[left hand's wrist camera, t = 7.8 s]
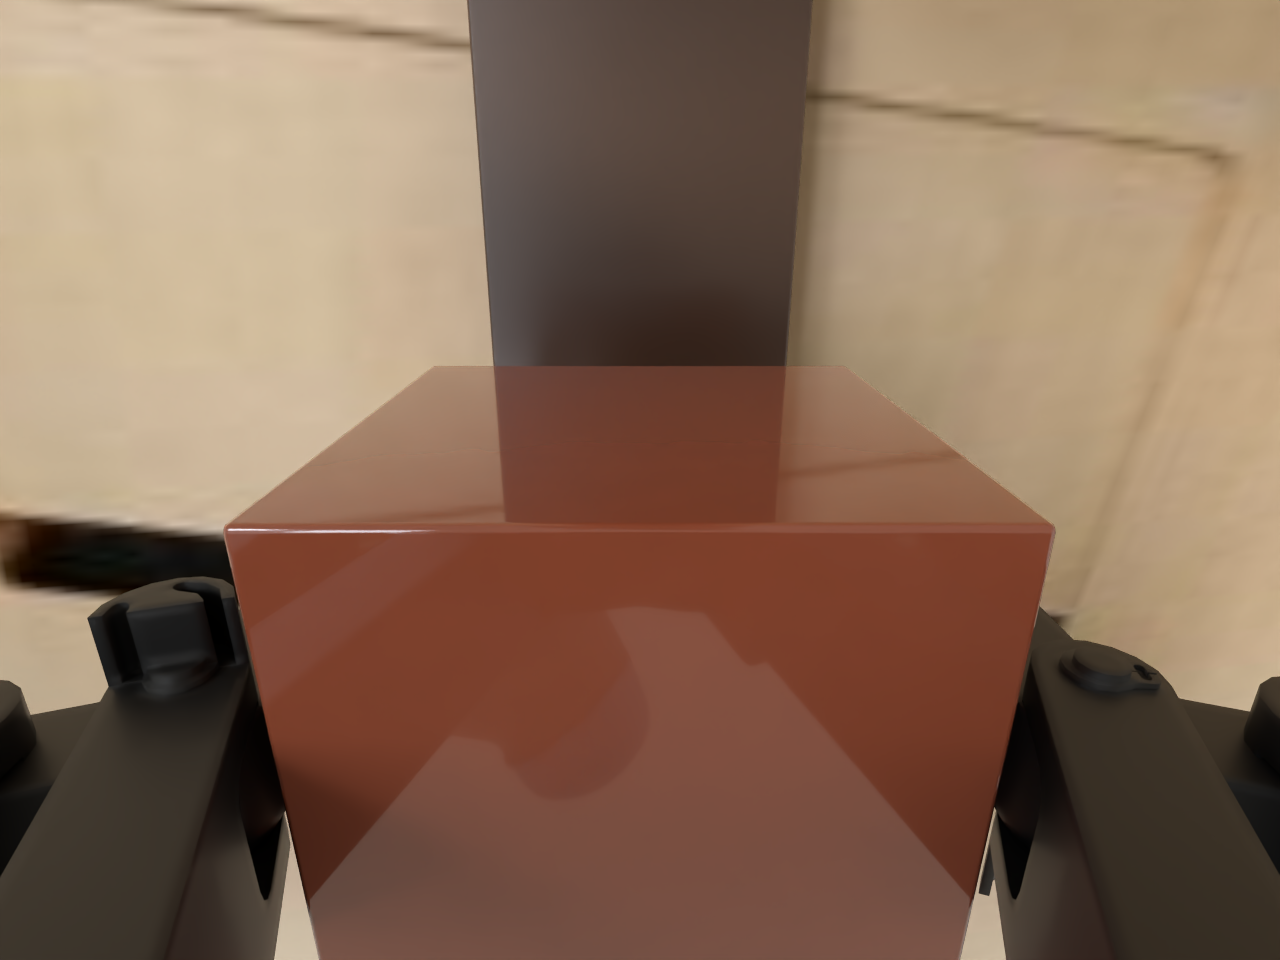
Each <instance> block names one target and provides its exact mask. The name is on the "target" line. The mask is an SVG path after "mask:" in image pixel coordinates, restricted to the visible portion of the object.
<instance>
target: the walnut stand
mask: <svg viewBox="0 0 1280 960" xmlns="http://www.w3.org/2000/svg"><path fill="white" fill-rule="evenodd" d="M812 3H813V0H467V6H468V19H469V33H470V47H471V61H472V74H473V88H474V102H475V116H476V130H477V143H478V157H479V171H480V185H481V199H482V212H483V226H484V240H485V254H486V267H487V281H488V295H489V309H490V323H491V336H492V350H493V364H494V366H786V363H787V349H788V335H789V322H790V308H791V294H792V280H793V266H794V252H795V239H796V225H797V211H798V197H799V183H800V169H801V155H802V142H803V128H804V114H805V100H806V86H807V72H808V59H809V45H810V31H811V17H812Z"/></svg>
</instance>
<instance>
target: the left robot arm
mask: <svg viewBox="0 0 1280 960" xmlns="http://www.w3.org/2000/svg"><path fill="white" fill-rule="evenodd" d="M88 622H89V625H90V628H91V631H92V634H93V638H94V641H95V644H96V647H97V650H98V654H99V657H100V660H101V663H102V666H103V670H104V673H105V676H106V679H107V682H108V686H109V687H108V689H107V691H106V692H105V694H104V696H103V698H102V699H101V701H100V702H98V703H93V704H88V705H82V706H77V707H72V708H66V709H61V710H56V711H50V712H45V713H39V714H34V715H30V713H29V710H28V707H27V704H26V702H25V699H24V696H23V693H22V691H21V688H20V687H18V686H16V685H15V684H13V683H12V682H10V681H5V680H0V960H274V956H275V949H276V942H277V935H278V928H279V921H280V914H281V907H282V900H283V893H284V885H285V878H286V871H287V864H288V857H289V850H290V839H289V832H288V827H287V823H286V818H285V814H284V812H285V806H284V801H283V797H282V792H281V788H280V783H279V779H278V775H277V770H276V766H275V761H274V757H273V752H272V748H271V743H270V739H269V735H268V730H267V726H266V721H265V717H264V712H263V708H262V703H261V699H260V694H259V690H258V686H257V681H256V677H255V672H254V668H253V663H252V659H251V654H250V650H249V646H248V641H247V637H246V632H245V628H244V623H243V619H242V614H241V610H238V605H237V601H236V596H235V592H234V587H233V586H232V585H230V584H229V583H227V582H225V581H224V580H222V579H216V578H209V577H189V578H177V579H172V580H167V581H162V582H157V583H152V584H149V585H146V586H143V587H140V588H137V589H135V590H132V591H129V592H126V593H124V594H122V595H120V596H118V597H116V598H114V599H112V600H110V601H108V602H107V603H105V604H103V605H101V606H100V607H99V608H98V609H97V610H96V611H95V612H94V613H92V614H91V615H90V616H89V617H88ZM994 807H995V809H996V814H995V818H994V823H993V827H992V831H991V836H990V840H989V845H988V849H987V854H986V858H985V863H984V867H983V871H982V876H981V881H980V888H979V893H980V894H983V895H987V896H989V894H990V890H991V886H992V882H993V880H994V879H995V884H996V891H997V898H998V905H999V912H1000V919H1001V926H1002V933H1003V940H1004V947H1005V954H1006V960H1280V677H1271V678H1270V679H1268V680H1266V681H1265V682H1263V683H1262V684H1260V686H1259V689H1258V691H1257V694H1256V697H1255V700H1254V702H1253V705H1252V708H1251V711H1250V712H1248V711H1243V710H1238V709H1232V708H1227V707H1221V706H1216V705H1211V704H1205V703H1200V702H1194V701H1189V700H1184V699H1180V698H1178V696H1177V695H1176V693H1175V691H1174V689H1173V688H1172V686H1171V685H1170V684H1169V683H1168V681H1167V680H1166V679H1165V678H1164V677H1163V676H1162V675H1161V674H1160V673H1159V671H1157V670H1156V669H1154V668H1153V667H1151V666H1149V665H1148V664H1146V663H1145V662H1143V661H1142V660H1140V659H1138V658H1137V657H1134V656H1132V655H1129V654H1127V653H1125V652H1122V651H1120V650H1117V649H1115V648H1112V647H1109V646H1105V645H1101V644H1097V643H1092V642H1088V641H1081V640H1073V639H1072V638H1071V637H1070V636H1069V635H1068V634H1067V633H1066V632H1065V631H1064V630H1063V629H1062V628H1061V627H1060V626H1059V625H1058V624H1057V623H1056V622H1055V621H1054V620H1053V619H1052V618H1051V617H1050V616H1049V615H1048V614H1047V613H1046V612H1045V611H1044V610H1043V609H1042V608H1041V607H1040V606H1039V609H1038V614H1037V618H1036V623H1035V627H1034V631H1033V636H1032V640H1031V645H1030V649H1029V654H1028V658H1027V663H1026V667H1025V672H1024V676H1023V681H1022V685H1021V690H1020V694H1019V698H1018V703H1017V707H1016V712H1015V716H1014V721H1013V725H1012V730H1011V734H1010V739H1009V743H1008V748H1007V752H1006V757H1005V761H1004V765H1003V770H1002V774H1001V779H1000V783H999V788H998V792H997V797H996V801H995V806H994Z"/></svg>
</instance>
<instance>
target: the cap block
mask: <svg viewBox="0 0 1280 960" xmlns="http://www.w3.org/2000/svg"><path fill="white" fill-rule="evenodd" d="M1055 533H1056V532H1055V527H1054V524H1053V523H1051V522H1050V521H1049V520H1047V519H1046V518H1045V517H1043V516H1042V515H1041V514H1039V513H1038V512H1037V511H1035V510H1034V509H1033V508H1031V507H1030V506H1029V505H1028V504H1026V503H1025V502H1024V501H1022V500H1021V499H1020V498H1018V497H1017V496H1016V495H1014V494H1013V493H1012V492H1010V491H1009V490H1008V489H1006V488H1005V487H1004V486H1002V485H1001V484H1000V483H999V482H997V481H996V480H995V479H993V478H992V477H991V476H989V475H988V474H987V473H985V472H984V471H983V470H981V469H980V468H979V467H977V466H976V465H975V464H973V463H972V462H971V461H970V460H968V459H967V458H966V457H964V456H963V455H962V454H960V453H959V452H958V451H956V450H955V449H954V448H952V447H951V446H950V445H948V444H947V443H946V442H945V441H943V440H942V439H941V438H939V437H938V436H937V435H935V434H934V433H933V432H931V431H930V430H929V429H927V428H926V427H925V426H923V425H922V424H921V423H919V422H918V421H917V420H916V419H914V418H913V417H912V416H910V415H909V414H908V413H906V412H905V411H904V410H902V409H901V408H900V407H898V406H897V405H896V404H894V403H893V402H892V401H890V400H889V399H888V398H887V397H885V396H884V395H883V394H881V393H880V392H879V391H877V390H876V389H875V388H873V387H872V386H871V385H869V384H868V383H867V382H865V381H864V380H863V379H862V378H860V377H859V376H858V375H856V374H855V373H854V372H852V371H851V370H850V369H848V368H847V367H845V366H434V367H432V368H430V369H429V370H428V371H427V372H425V373H424V374H423V375H421V376H420V377H419V378H417V379H416V380H415V381H413V382H412V383H411V384H409V385H408V386H407V387H406V388H404V389H403V390H402V391H400V392H399V393H398V394H396V395H395V396H394V397H392V398H391V399H390V400H388V401H387V402H386V403H385V404H383V405H382V406H381V407H379V408H378V409H377V410H375V411H374V412H373V413H371V414H370V415H369V416H367V417H366V418H365V419H364V420H362V421H361V422H360V423H358V424H357V425H356V426H354V427H353V428H352V429H350V430H349V431H348V432H346V433H345V434H344V435H342V436H341V437H340V438H339V439H337V440H336V441H335V442H333V443H332V444H331V445H329V446H328V447H327V448H325V449H324V450H323V451H321V452H320V453H319V454H318V455H316V456H315V457H314V458H312V459H311V460H310V461H308V462H307V463H306V464H304V465H303V466H302V467H300V468H299V469H298V470H297V471H295V472H294V473H293V474H291V475H290V476H289V477H287V478H286V479H285V480H283V481H282V482H281V483H279V484H278V485H277V486H276V487H274V488H273V489H272V490H270V491H269V492H268V493H266V494H265V495H264V496H262V497H261V498H260V499H258V500H257V501H256V502H255V503H253V504H252V505H251V506H249V507H248V508H247V509H245V510H244V511H243V512H241V513H240V514H239V515H237V516H236V517H235V518H234V519H232V520H231V521H230V522H228V523H227V524H226V525H225V527H224V531H223V534H224V539H225V543H226V548H227V552H228V557H229V561H230V565H231V570H232V574H233V579H234V583H235V588H236V592H237V597H238V601H239V606H240V610H241V614H242V619H243V623H244V628H245V632H246V637H247V641H248V646H249V650H250V654H251V659H252V663H253V668H254V672H255V677H256V681H257V686H258V690H259V694H260V699H261V703H262V708H263V712H264V717H265V721H266V726H267V730H268V735H269V739H270V743H271V748H272V752H273V757H274V761H275V766H276V770H277V775H278V779H279V783H280V788H281V792H282V797H283V801H284V806H285V810H286V815H287V819H288V823H289V828H290V832H291V837H292V841H293V846H294V850H295V855H296V859H297V864H298V868H299V872H300V877H301V881H302V886H303V890H304V895H305V899H306V904H307V908H308V912H309V917H310V921H311V926H312V930H313V935H314V939H315V944H316V948H317V952H318V957H319V960H960V957H961V953H962V949H963V944H964V940H965V935H966V931H967V926H968V922H969V917H970V913H971V908H972V904H973V899H974V895H975V890H976V886H977V882H978V877H979V873H980V868H981V864H982V859H983V855H984V850H985V846H986V841H987V837H988V832H989V828H990V823H991V819H992V815H993V810H994V806H995V801H996V797H997V792H998V788H999V783H1000V779H1001V774H1002V770H1003V765H1004V761H1005V757H1006V752H1007V748H1008V743H1009V739H1010V734H1011V730H1012V725H1013V721H1014V716H1015V712H1016V707H1017V703H1018V698H1019V694H1020V690H1021V685H1022V681H1023V676H1024V672H1025V667H1026V663H1027V658H1028V654H1029V649H1030V645H1031V640H1032V636H1033V631H1034V627H1035V623H1036V618H1037V614H1038V609H1039V605H1040V600H1041V596H1042V591H1043V587H1044V582H1045V578H1046V573H1047V569H1048V564H1049V560H1050V556H1051V551H1052V547H1053V542H1054V538H1055Z"/></svg>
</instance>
